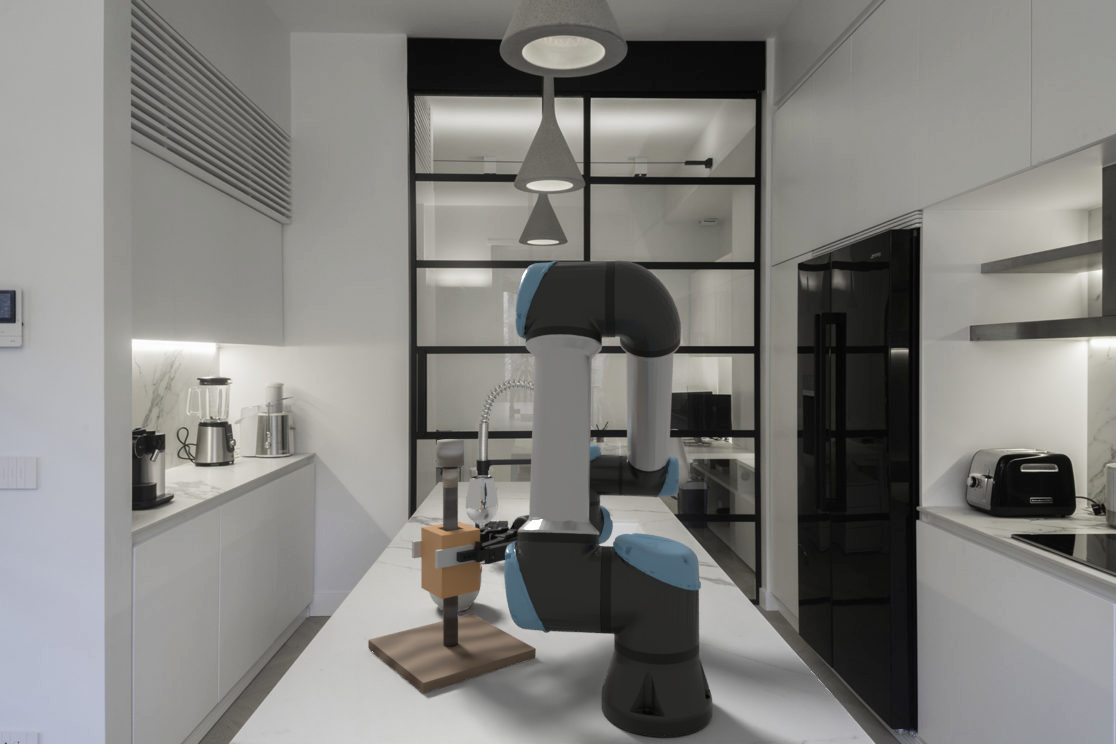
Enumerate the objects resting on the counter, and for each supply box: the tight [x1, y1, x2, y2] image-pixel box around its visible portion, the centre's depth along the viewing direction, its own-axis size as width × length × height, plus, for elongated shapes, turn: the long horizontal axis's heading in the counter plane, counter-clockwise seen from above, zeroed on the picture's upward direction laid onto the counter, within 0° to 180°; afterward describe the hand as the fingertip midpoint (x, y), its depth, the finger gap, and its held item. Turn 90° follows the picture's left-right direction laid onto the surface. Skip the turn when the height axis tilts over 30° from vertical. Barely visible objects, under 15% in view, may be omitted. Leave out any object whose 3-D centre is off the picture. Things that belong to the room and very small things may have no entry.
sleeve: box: [420, 521, 481, 599], centre depth 116 cm, size 7×7×10 cm
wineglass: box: [465, 474, 499, 565], centre depth 171 cm, size 8×8×20 cm
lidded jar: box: [428, 564, 483, 612], centre depth 138 cm, size 11×11×9 cm
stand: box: [367, 438, 537, 694], centre depth 116 cm, size 20×20×35 cm
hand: (424, 554), depth 113 cm, fingers closed on sleeve, 7 cm apart
